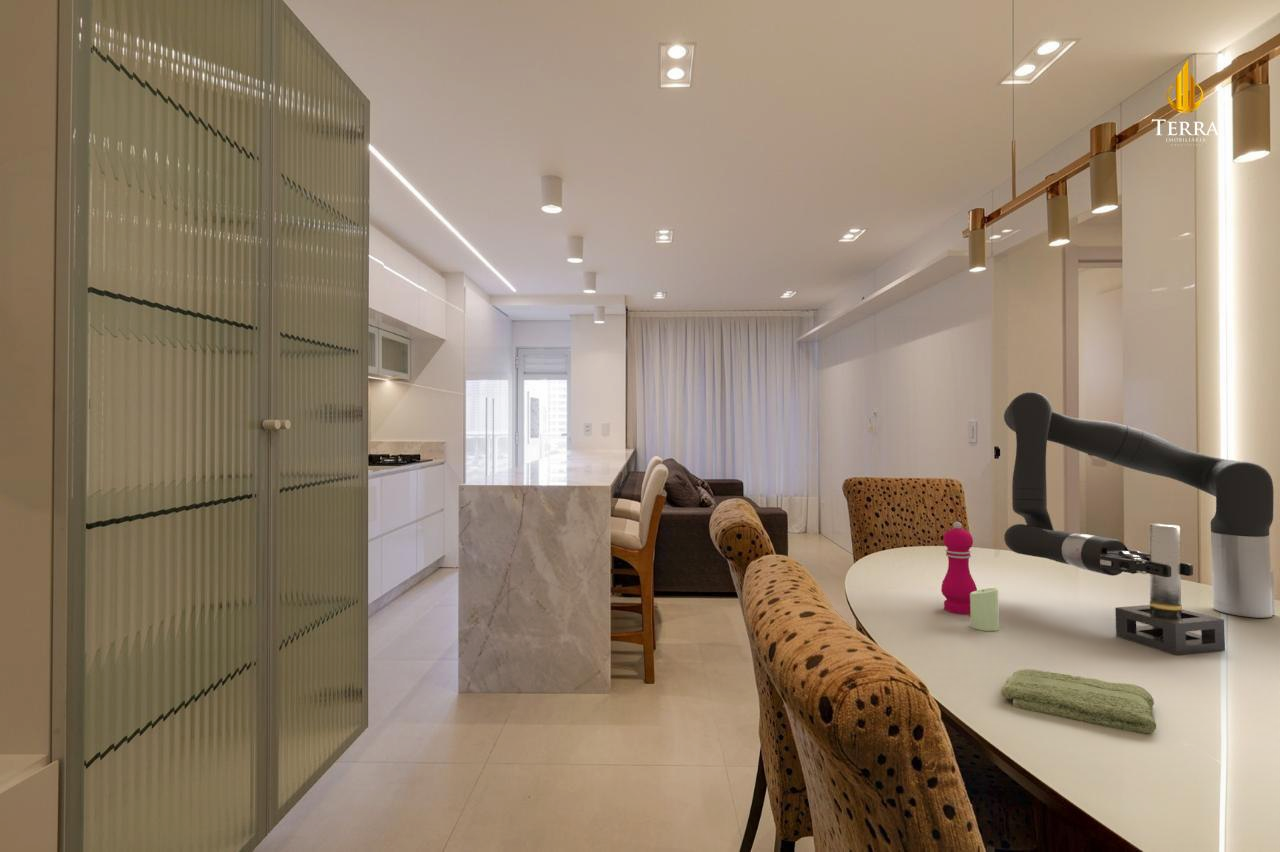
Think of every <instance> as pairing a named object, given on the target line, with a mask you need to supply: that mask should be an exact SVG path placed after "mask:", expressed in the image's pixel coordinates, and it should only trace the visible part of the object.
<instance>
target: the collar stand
mask: <svg viewBox="0 0 1280 852" xmlns="http://www.w3.org/2000/svg"><path fill="white" fill-rule="evenodd" d="M1114 609H1115V636H1116V637H1118V638H1121V639H1124V640H1128V641H1130V642H1134V643H1137V644H1140V645H1143V646H1147V647H1150V648H1152V647H1153V648H1152V649H1155V648H1156V650H1158V649H1159V651H1163V652H1165V653H1167V654H1170V655H1175V656H1181V655H1182V656H1183V655H1193V654H1200V653H1201V654H1203V653H1211V652H1222V651H1223V652H1224V651H1225V650H1226V647H1225V646H1226V645H1225V644H1226V642H1225V640H1226V639H1225V635H1226V634H1225V620H1224V619H1223V618H1219V617H1214V616H1210V615H1206V614H1202V613H1198V612H1194V611H1190V610H1186V609H1183V608H1182V612H1181V619H1174V620H1172V619H1168V618H1164V617H1161V616H1157V615H1153V614H1150V604H1144V605H1133V606H1131V605H1130V606H1120V607H1119V606H1117V607H1115V608H1114ZM1137 622H1138V623H1142V624H1145V625H1137ZM1195 631H1200V633H1201V634H1197V633H1195ZM1161 637H1162V638H1161Z"/></svg>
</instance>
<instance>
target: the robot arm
mask: <svg viewBox="0 0 1280 852" xmlns="http://www.w3.org/2000/svg"><path fill="white" fill-rule="evenodd" d="M1003 419H1004V423H1005V425H1006V426H1007V427H1008V428H1009V429H1010V430H1011V431H1013V432H1014V433H1015V439H1016V450H1015V459H1014V460H1015V461H1014V467H1013V472H1012V473H1013V474H1012V480H1011V481H1012V485H1011V487H1012V489H1011V490H1012V491H1011V494H1012V495H1011V496H1012V497H1011V498H1012V503H1011V504H1012V511H1013V513H1015V514H1017V515H1018V516H1021V517H1022V518H1023V519H1024V520H1025V523H1026V524H1023V523H1017V524H1013V525H1011V526H1009V527H1008V528H1007V530H1006V531H1005V533H1004V536H1003V537H1004V538H1003V539H1004V543H1005V545H1006V546H1007V548H1008V549H1009V550H1011V552H1014V553H1015V554H1019V555H1023V556H1030V557H1035V558H1043V559H1047V560H1051V561H1054V562H1057V563H1061V564H1065V565H1070V566H1073V567H1076V568H1079V569H1080V570H1085V571H1090V572H1094V573H1099V574H1102V575H1107V576H1118V575H1120V574H1122V573H1129V574H1133V575H1134V574H1142V575H1147V574H1148V575H1150V574H1153V575H1158V576H1162V577H1171V566H1169V565H1166V564H1161V563H1155V562H1150V554H1149V552H1143V551H1141V550H1138V549H1137V550H1136V549H1128V547H1127V546H1126V545H1125V543H1124V542H1122V541H1121V540H1120V539H1117V538H1110V537H1107V536H1106V537H1104V536H1099V535H1093V534H1088V533H1087V534H1086V533H1076V532H1069V531H1061V530H1054V527H1053V523H1052V519H1051V517H1050V514H1049V511H1048V509H1047V508H1048V507H1047V506H1048V504H1047V500H1048V499H1047V493H1048V492H1047V446H1048V445H1047V443H1048V442H1052V443H1056V444H1059V445H1063V446H1065V447H1068V448H1071V449H1073V450H1076V451H1078V452H1081V453H1084V454H1086V455H1089V456H1093V457H1095V458H1098V459H1101V460H1104V461H1107V462H1110V463H1113V464H1116V465H1119V466H1122V467H1124V468H1129V469H1132V470H1135V471H1138V472H1143V473H1147V474H1150V475H1156V476H1158V477H1159V476H1160V477H1164V478H1169V479H1172V480H1174V481H1178V482H1180V483H1183V484H1186V485H1188V486H1191V487H1193V488H1196V489H1198V490H1200V491H1202V492H1205V493H1207V494H1209V495H1211V496H1213V497H1215V513H1214V516H1213V517H1212V518H1211V520H1210V544H1211V545H1210V547H1211V548H1210V549H1211V572H1212V573H1211V574H1212V576H1211V577H1212V600H1213V601H1212V604H1213V607H1212V608H1213V609H1214V610H1216V611H1218V612H1221V613H1224V614H1229V615H1233V616H1239V617H1247V618H1262V619H1263V618H1264V619H1265V618H1272V617H1273V615H1275V614H1276V610H1275V606H1276V605H1275V585H1274V584H1275V582H1274V581H1275V580H1274V570H1272V567H1271V547H1270V545H1271V544H1270V528H1271V526H1272V523H1273V520H1274V497H1275V496H1274V493H1275V492H1274V484H1273V483H1274V482H1273V480H1272V477H1271V474H1270V473H1269V472H1268V470H1267V469H1266V468H1265V467H1264V466H1262V465H1260V464H1257V463H1255V462H1251V461H1244V460H1234V459H1233V460H1232V459H1226V458H1220V457H1215V456H1210V455H1206V454H1203V453H1199V452H1195V451H1191V450H1188V449H1186V448H1183V447H1181V446H1179V445H1177V444H1175V443H1172V442H1171V441H1170V440H1167V439H1165V438H1162V437H1161V436H1157V435H1155V434H1153V433H1150V432H1148V431H1145V430H1141V429H1139V428H1135V427H1131V426H1129V425H1126V424H1123V423H1118V422H1112V421H1104V420H1095V419H1085V418H1079V417H1078V418H1075V417H1072V416H1068V415H1065V414H1061V413H1060V412H1057V411H1054V410H1053V407H1052V403H1051V402H1050V400H1049V398H1047V397H1046V396H1045V395H1043V394H1042V393H1039V392H1035V391H1027V392H1023V393H1021V394H1019V395H1017V396H1016V397H1015V398H1013V400H1012V401H1011V402H1010V403H1009V405H1008V406H1007V408H1006V409H1005V411H1004V414H1003ZM1180 570H1181V575H1182V576H1185V577H1186V576H1187V577H1192V576H1193V575H1194V566H1193V564H1192V563H1189V562H1182V561H1180Z"/></svg>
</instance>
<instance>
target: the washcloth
mask: <svg viewBox="0 0 1280 852" xmlns="http://www.w3.org/2000/svg"><path fill="white" fill-rule="evenodd" d="M1005 682H1006V684H1005V685H1003V686H1002V687H1001V689H1000V690H1001V692H1000V694H1001V696H1002V697H1004V698H1007V699H1008V700H1012V706H1013V707H1014V708H1018V709H1022V710H1028V711H1031V712H1037V713H1043V714H1047V715H1049V716H1050V715H1051V716H1055V717H1061V718H1065V719H1069V720H1076V721H1080V722H1085V723H1088V724H1089V723H1090V724H1094V725H1099V726H1105V727H1109V728H1115V729H1118V730H1120V729H1121V730H1123V731H1124V730H1125V731H1130V732H1135V733H1139V734H1151V733H1154V732H1155V731H1156V730H1157V723H1156V719H1155V716H1154V712H1153V708H1154V704H1155V701H1154V698H1153V696H1152V694H1151V693H1150V692H1149V691H1148V690H1147V689H1145V688H1144V687H1143V686H1140V685H1137V684H1135V683H1125V682H1123V683H1122V682H1111V681H1105V680H1100V679H1097V678H1094V677H1093V678H1092V677H1082V676H1079V675H1077V676H1074V675H1072V674H1065V673H1064V674H1063V673H1059V672H1051V671H1043V670H1038V669H1033V668H1032V669H1031V668H1029V669H1028V668H1027V669H1026V668H1025V669H1018V670H1017V671H1014V672H1013V673H1012V675H1011V676H1010V677H1008V678H1007V680H1006V681H1005Z"/></svg>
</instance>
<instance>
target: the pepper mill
mask: <svg viewBox="0 0 1280 852" xmlns="http://www.w3.org/2000/svg"><path fill="white" fill-rule="evenodd" d="M962 524H963V523H961V522H960V521H955V522H953V525H952V526H953V528H949V529H948V530H946V531H945V532H944V534H943V536H942V537H943V538H942V540H943V541H942V542H943V544H944V545H945V547H946V550H945V552H946V553H945V555H946V557H947V559H948V560H947V561H948V565H947V570H946V571H947V572H946V573H945V576H944V578H943V580H942V583H941V590H940V591H941V594H942V595H943V597H944V598H945V600H944V601H943V608H944V610H945V611H947V612H948V611H949V612H948V613H953V614H957V615H971V613H970V593H971V592H974V591H977V590H978V588H977V584H976V582H975V581H974V578H973V577H972V574H971V571H970V566H969V561H970V558H971V557H972V555H971V550H970V549H971V547H973V545H974V538H973V536H972V534H971V533H970V532H969V531H967V530H966V529H963V528H962V527H963V525H962Z"/></svg>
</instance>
